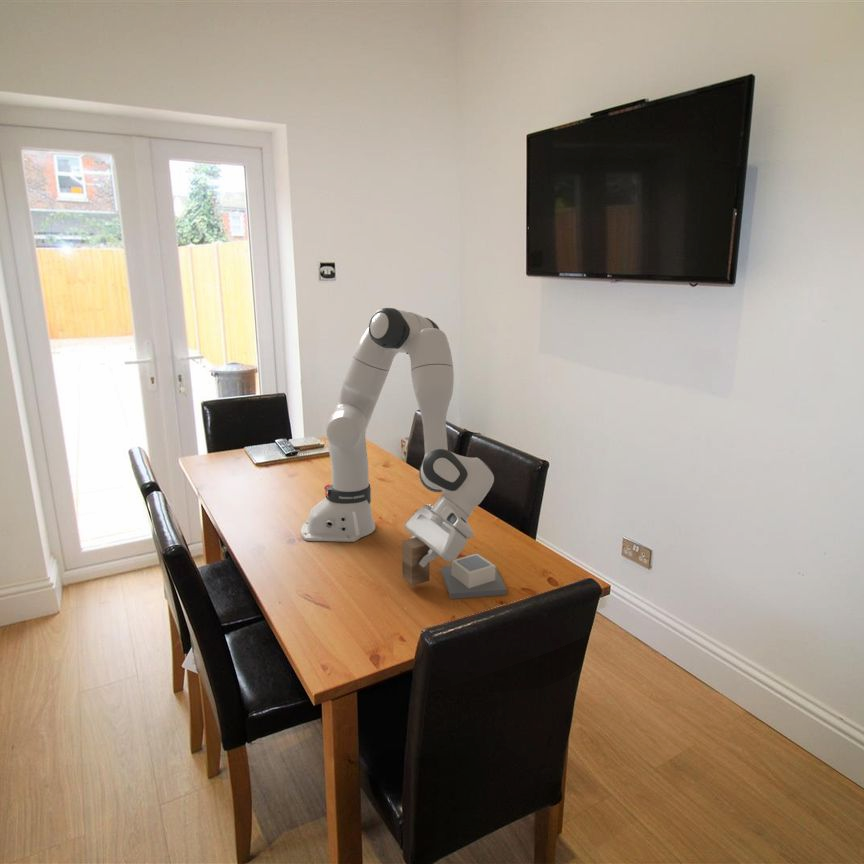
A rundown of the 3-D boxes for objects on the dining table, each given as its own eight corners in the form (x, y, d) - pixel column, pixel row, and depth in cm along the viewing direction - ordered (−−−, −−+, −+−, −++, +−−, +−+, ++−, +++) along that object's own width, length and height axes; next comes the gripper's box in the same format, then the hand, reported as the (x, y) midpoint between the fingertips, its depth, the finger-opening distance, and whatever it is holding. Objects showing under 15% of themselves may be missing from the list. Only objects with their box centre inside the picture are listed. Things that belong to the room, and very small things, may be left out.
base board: (450, 599, 149) (450, 577, 148) (441, 571, 163) (441, 551, 161) (506, 594, 151) (507, 573, 150) (493, 568, 164) (493, 548, 163)
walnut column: (411, 585, 151) (412, 548, 148) (402, 576, 155) (402, 540, 153) (429, 580, 154) (430, 544, 151) (419, 572, 158) (420, 536, 155)
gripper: (420, 495, 162) (386, 537, 160) (462, 523, 145) (426, 570, 143) (434, 508, 165) (402, 549, 163) (477, 537, 148) (442, 583, 146)
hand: (413, 559), depth 153 cm, fingers closed on walnut column, 5 cm apart
